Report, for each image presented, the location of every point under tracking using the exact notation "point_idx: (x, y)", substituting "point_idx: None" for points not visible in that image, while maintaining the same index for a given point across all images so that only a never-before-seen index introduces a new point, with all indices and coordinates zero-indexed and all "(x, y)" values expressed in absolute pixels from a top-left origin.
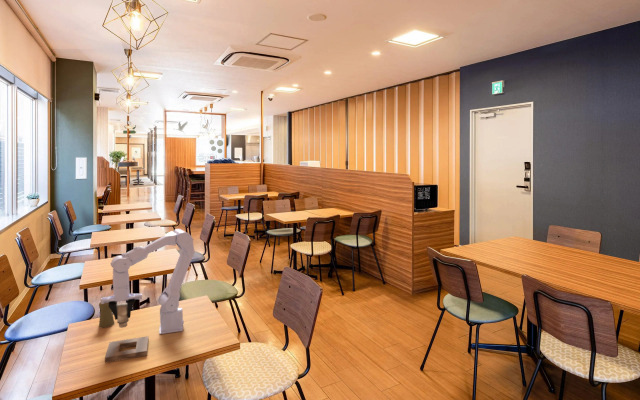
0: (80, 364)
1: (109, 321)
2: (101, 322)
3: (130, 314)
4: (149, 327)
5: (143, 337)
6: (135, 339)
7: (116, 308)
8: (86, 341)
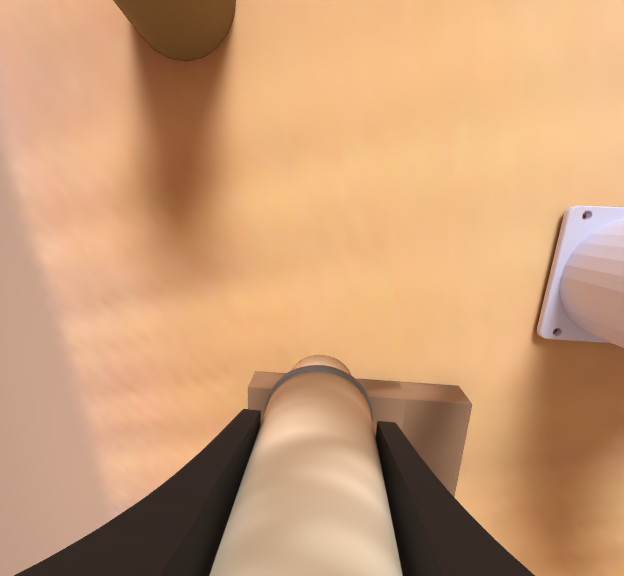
0: (157, 478)
1: (190, 21)
2: (128, 16)
3: (403, 433)
4: (489, 192)
5: (441, 409)
6: (393, 415)
7: (205, 555)
8: (115, 252)
